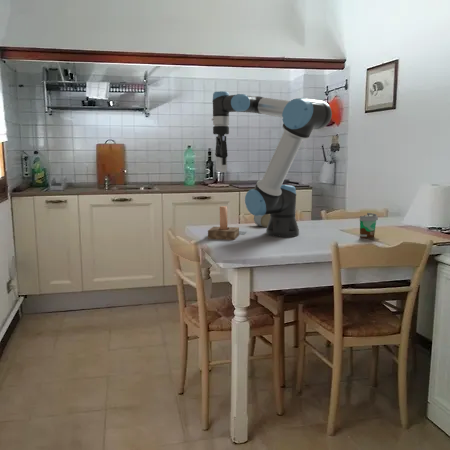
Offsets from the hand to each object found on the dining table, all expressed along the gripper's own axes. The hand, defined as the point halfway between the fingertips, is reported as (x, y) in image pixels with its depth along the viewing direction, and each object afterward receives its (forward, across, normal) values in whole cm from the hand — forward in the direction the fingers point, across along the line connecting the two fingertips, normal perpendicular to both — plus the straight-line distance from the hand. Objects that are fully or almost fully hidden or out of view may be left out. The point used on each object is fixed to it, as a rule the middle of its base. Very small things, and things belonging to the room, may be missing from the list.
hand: (221, 171), depth 226 cm
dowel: (+29, +18, -2) cm, 34 cm away
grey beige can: (+29, -8, +24) cm, 39 cm away
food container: (+29, +29, +63) cm, 75 cm away
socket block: (+29, +18, -2) cm, 34 cm away
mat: (+29, +9, +5) cm, 30 cm away
